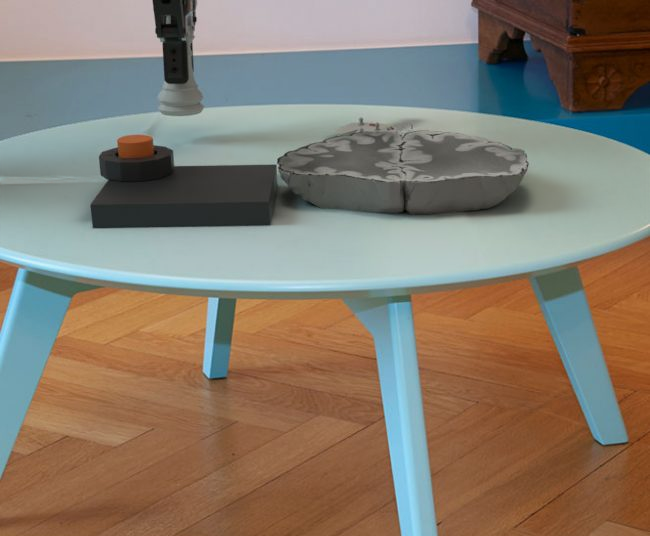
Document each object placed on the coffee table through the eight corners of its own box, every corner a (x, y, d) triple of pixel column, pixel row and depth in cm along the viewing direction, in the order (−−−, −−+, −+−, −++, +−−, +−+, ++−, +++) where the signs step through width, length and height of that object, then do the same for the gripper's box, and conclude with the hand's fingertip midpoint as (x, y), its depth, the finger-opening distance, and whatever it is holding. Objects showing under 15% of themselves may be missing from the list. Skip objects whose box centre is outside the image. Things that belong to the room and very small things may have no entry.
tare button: (115, 162, 89) (114, 142, 88) (122, 153, 91) (120, 134, 91) (151, 161, 89) (149, 142, 88) (156, 153, 91) (155, 134, 91)
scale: (81, 229, 83) (76, 183, 82) (111, 187, 94) (107, 145, 93) (270, 226, 83) (268, 179, 81) (277, 184, 94) (276, 142, 92)
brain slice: (514, 163, 99) (516, 129, 97) (535, 220, 83) (537, 180, 82) (290, 164, 100) (289, 131, 99) (268, 220, 84) (267, 181, 83)
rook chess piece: (178, 118, 105) (174, 30, 102) (148, 112, 108) (142, 26, 105) (214, 111, 108) (210, 25, 105) (183, 106, 111) (179, 22, 108)
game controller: (330, 154, 103) (329, 125, 102) (356, 128, 113) (356, 102, 112) (391, 156, 102) (391, 127, 101) (412, 129, 112) (412, 103, 111)
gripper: (139, -117, 107) (151, 68, 114) (112, -116, 94) (127, 93, 101) (219, -117, 107) (225, 67, 114) (203, -116, 94) (211, 93, 100)
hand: (179, 78), depth 107 cm, fingers closed on rook chess piece, 3 cm apart
